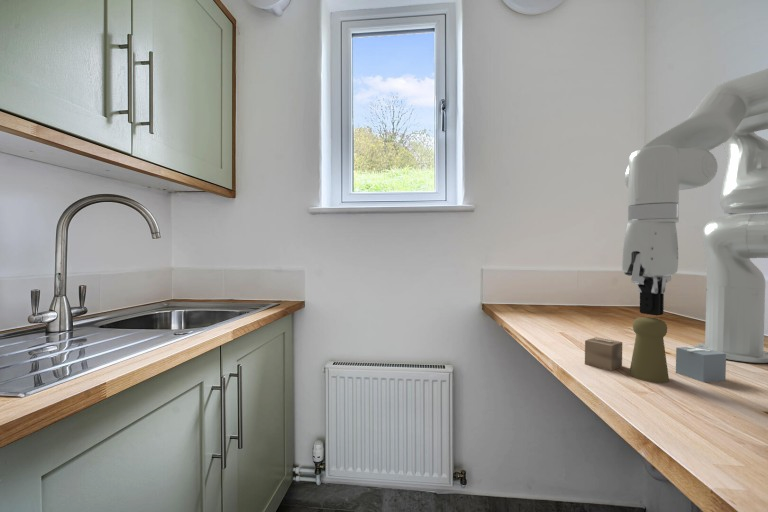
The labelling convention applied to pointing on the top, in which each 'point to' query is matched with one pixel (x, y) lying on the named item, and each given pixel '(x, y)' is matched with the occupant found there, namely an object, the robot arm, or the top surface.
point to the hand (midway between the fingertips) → (651, 313)
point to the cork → (649, 350)
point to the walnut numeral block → (603, 353)
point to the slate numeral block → (701, 364)
